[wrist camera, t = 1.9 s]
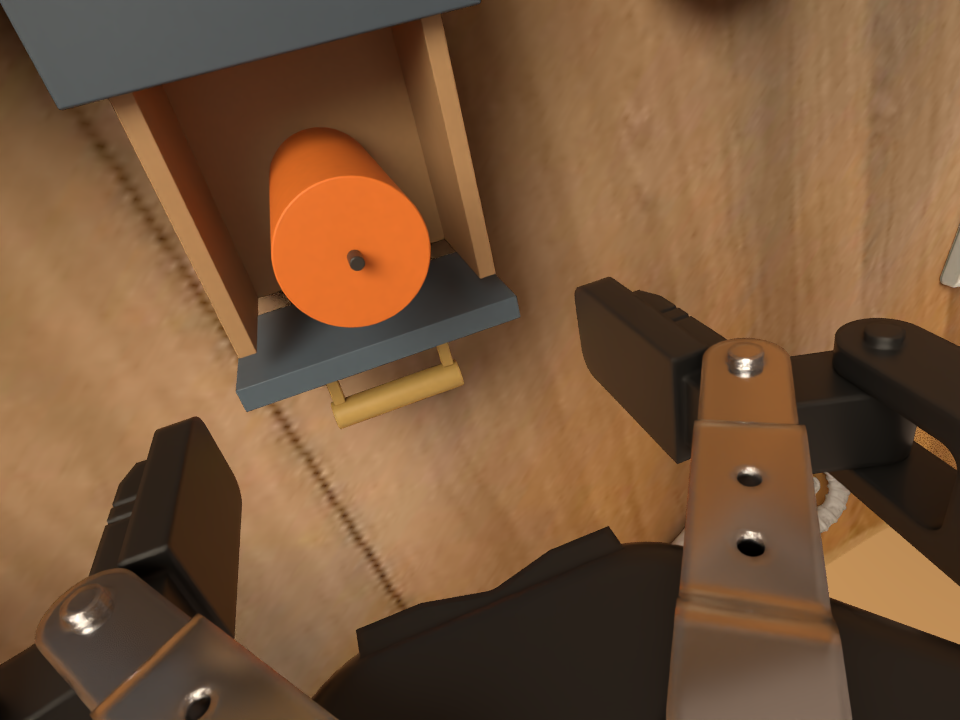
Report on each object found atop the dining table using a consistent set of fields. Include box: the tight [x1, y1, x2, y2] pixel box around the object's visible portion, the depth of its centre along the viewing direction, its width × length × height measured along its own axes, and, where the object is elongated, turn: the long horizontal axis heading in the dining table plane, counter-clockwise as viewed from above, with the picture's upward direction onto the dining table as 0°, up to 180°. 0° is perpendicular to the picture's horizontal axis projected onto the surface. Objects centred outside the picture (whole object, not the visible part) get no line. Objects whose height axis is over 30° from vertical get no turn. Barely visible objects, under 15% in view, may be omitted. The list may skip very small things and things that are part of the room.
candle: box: [269, 127, 431, 328], centre depth 24 cm, size 5×5×13 cm
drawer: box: [109, 14, 520, 429], centre depth 28 cm, size 21×13×8 cm, turn 12°
